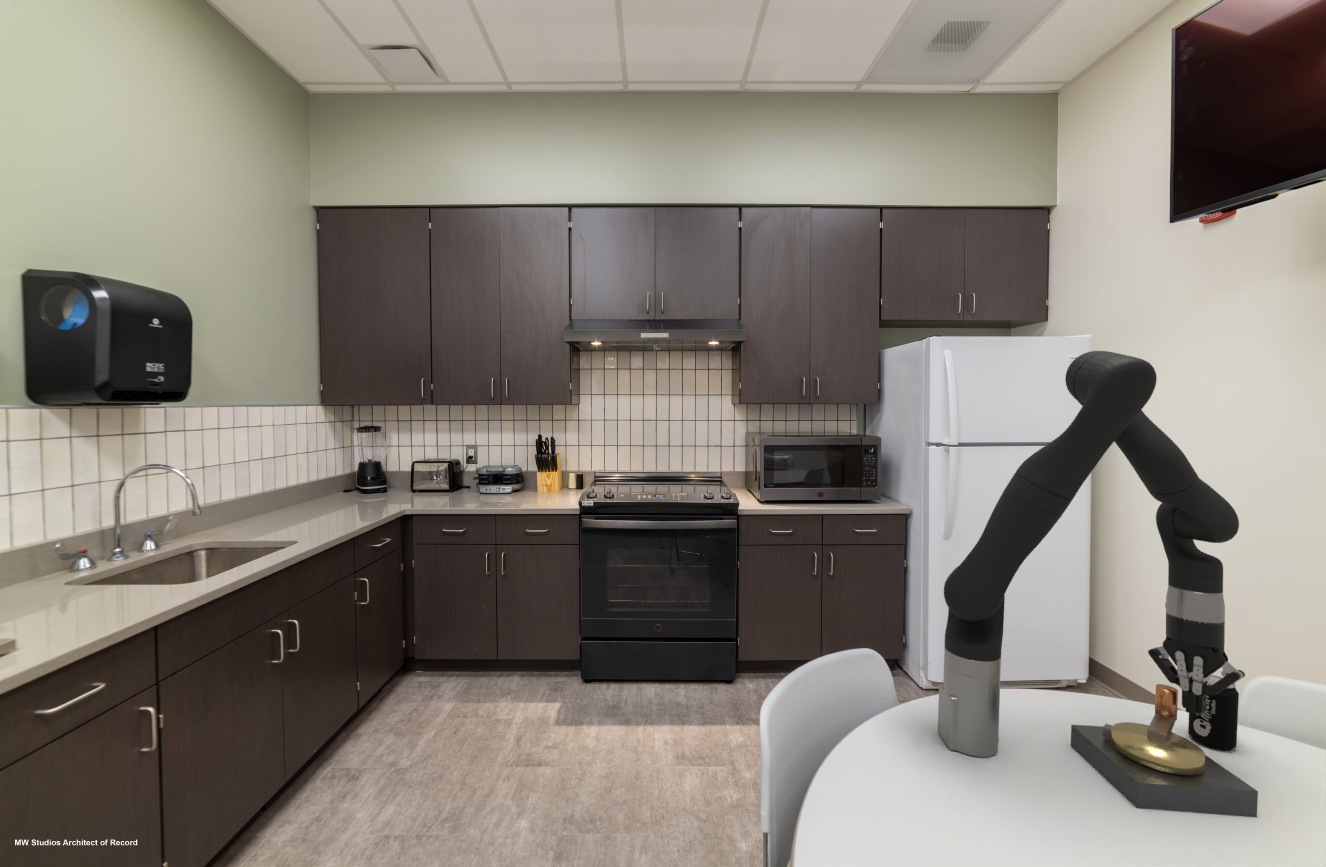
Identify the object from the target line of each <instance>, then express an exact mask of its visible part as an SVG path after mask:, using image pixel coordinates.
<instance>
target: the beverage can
mask: <svg viewBox="0 0 1326 867" xmlns="http://www.w3.org/2000/svg"><path fill="white" fill-rule="evenodd" d="M1222 678H1223V676H1218V675H1215V674H1211V676H1210V680H1209V683H1208V686H1211V685H1213V684H1214V683H1216V682H1217V681H1219V680H1220V679H1222ZM1236 687H1237V684H1236V682H1235V683H1234V684H1232V685H1231V686H1229V687H1228V688H1226V689H1224V690H1223V691H1221V692H1220V693H1218V694H1215V695H1213V696H1211V695H1206V710H1205V712H1203V713H1201V714H1200V715H1198V716H1196V715H1193V714H1191V713H1188V724H1187V726H1188V727H1187V729H1188V731H1187V732H1188V735H1189V736H1190V737H1191V738H1192V740H1193V741H1194V742H1196V743H1197V744H1199V745H1201V746H1204V747H1206V748H1208V749H1213V750H1216V751H1220V750H1221V751H1220V752H1229V751H1232V750H1233V749H1235V748H1236V747H1237V742H1238V739H1237V738H1238V724H1239V722H1238V721H1239V702H1240V701H1239V700H1240V699H1239V697H1240V696H1239V695H1240V694H1239V692H1238V690H1237V688H1236Z"/></svg>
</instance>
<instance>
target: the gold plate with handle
mask: <svg viewBox="0 0 1326 867" xmlns="http://www.w3.org/2000/svg"><path fill="white" fill-rule="evenodd" d="M1154 697H1155V700H1154V716H1153V717H1152V720H1151V722H1150V724H1146V723H1145V724H1144V723H1138V722H1126V721H1125V722H1118V723H1115V724H1113V725H1111V724H1109V723H1105V724H1104V726H1102V727H1103V737H1106V738H1109V739H1111V743H1112V745H1113V746H1114V747H1115V748H1116V749H1117V750H1118V751H1119V752H1120V753H1122V754H1123V755H1125V756H1126V757H1128V758H1130V759H1132V760H1134V761H1136V762H1138V763H1140V764H1143V765H1145V766H1148V767H1151V768H1154V769H1157V770H1160V771H1164V772H1168V773H1173V774H1180V775H1197V774H1200V773H1202V772H1203V771H1204V770H1205V755H1206V753H1205V751H1204V749H1202V748H1201V747H1200V746H1199V745H1197V744H1196V743H1194V742H1192V740H1190V739H1188V738H1186V737H1184V736H1181V735H1180V734H1177V733H1175V732H1173V731H1172V730H1173V728H1174V725H1175V723H1176V721H1177V720H1178V704H1179V703H1178V701H1179V698H1178V697H1179V690H1178V689H1177V688H1175V687H1173V686H1171V685H1167V684H1164V683H1163V684H1160V683H1157V684H1155V696H1154ZM1171 731H1172V732H1171Z"/></svg>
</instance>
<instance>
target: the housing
mask: <svg viewBox="0 0 1326 867" xmlns="http://www.w3.org/2000/svg"><path fill="white" fill-rule="evenodd" d="M1103 727H1104V726H1099V725H1086V724H1085V725H1082V724H1071V725H1070V747H1071V748H1072V749H1073V750H1074V751H1075V752H1076V753H1078V754H1079V756H1081V757H1082V758H1083V759H1084V760H1085V761H1086V762H1087V763H1088V764H1089V765H1090V766H1091V767H1093V768H1094V769H1095V770H1096V771H1097V772H1098V773H1099V774H1100V775H1101V777H1103V778H1105V779H1106V781H1108V782H1109V783H1110V784H1111V785H1112V786H1113V787H1114V788H1115V789H1116V790H1117V791H1118V792H1120V793H1121V794H1122V795H1123V796H1124V797H1125V798H1126V799H1127V800H1128V802H1130V803H1131V804H1132V805H1133V806H1134V807H1136V808H1137V809H1148V810H1157V811H1159V810H1161V811H1172V812H1173V811H1175V812H1188V813H1200V814H1213V815H1226V816H1237V817H1238V816H1239V817H1252V818H1258V802H1259V801H1258V800H1259V791H1258V790H1257V789H1255V788H1254V787H1252V786H1251V785H1249V784H1248V783H1246V781H1244V780H1242V779H1241V778H1240V777H1238V776H1236V775H1235V774H1234V773H1232V772H1231V771H1229V770H1228V769H1227V768H1225V767H1224V766H1223V765H1221V764H1219V763H1218V762H1216V761H1215V760H1214V759H1212V758H1211V757H1210V756H1208V755H1206V754H1205V770H1204V771H1203V772H1202V773H1200V774H1197V775H1180V774H1173V773H1168V772H1164V771H1160V770H1157V769H1154V768H1151V767H1148V766H1145V765H1143V764H1140V763H1138V762H1136V761H1134V760H1132V759H1130V758H1128V757H1126V756H1125V755H1123V754H1122V753H1120V752H1119V751H1118V750H1117V749H1116V748H1115V747H1114V746H1113V745H1112V743H1111V739H1109V738H1106V737H1103ZM1171 732H1173V731H1171Z"/></svg>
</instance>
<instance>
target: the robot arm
mask: <svg viewBox="0 0 1326 867" xmlns="http://www.w3.org/2000/svg"><path fill="white" fill-rule="evenodd" d="M1157 378H1158V377H1157V372H1156V370H1155V367H1154V366H1153V365H1152V364H1151V363H1150V362H1149V361H1147V360H1145V359H1142V358H1139V357H1136V356H1131V355H1127V354H1123V353H1116V352H1114V351H1113V352H1112V351H1108V350H1107V351H1106V350H1092V351H1088V352H1085V353H1082V354H1080V355H1079V356H1077V357H1076V358H1075V359H1073V360H1072V361H1071V363H1070V364H1069V365H1068V367H1067V369H1066V373H1065V385H1066V389H1067V391H1068V393H1069V394H1070V395H1071V396H1072V397H1073V399H1075V400H1076V401H1077V402H1078V403H1079V404H1080V405H1081V408H1080V410H1079V411H1078V413H1077V414H1076V416H1075V417H1074V418H1073V421H1072V422H1071V423H1070V425H1068V427H1067V428H1066V429H1065V430H1064V431H1063V432H1062V433H1061V434H1060V435H1059V436H1057V437H1056V438H1055V439H1053V440H1051V442H1049V443H1047V444H1045V445H1044V446H1043V447H1041V448H1039V450H1037V451H1036V452H1034V453H1033V454H1031V455H1030V456H1028V457H1027V458H1026V459H1025V460H1024V461H1023V462H1022V463H1021V464H1020V465H1019V466H1018V467H1017V469H1016V471H1015V472H1014V474H1013V475H1012V477H1011V479H1010V480H1009V481H1008V483H1007V485H1006V486H1005V488H1004V490H1003V491H1002V492H1001V495H1000V497H999V499H998V500H997V502H996V504H995V506H994V508H993V511H992V512H991V514H990V516H989V519H988V520H987V522H986V525H985V527H984V529H983V532H982V533H981V535H980V538H979V539H978V541H977V542H976V543H975V545H974V547H973V548H972V549H971V551H970V552H969V553H968V554H967V555H966V557H965V558H964V559H963V561H962V562H961V563H960V564H959V565H958V566H956V567H955V568H954V569H953V570H952V572H951V573H950V574H949V575H948V576H947V577H946V580H945V581H944V585H943V597H944V601H945V603H946V605H947V607H948V611H947V612H948V614H947V620H946V621H947V622H946V627H945V633H944V649H943V650H944V651H943V652H944V653H943V654H944V655H943V658H944V659H943V683H939V684H938V706H937V707H938V709H937V710H938V713H937V733H938V735H939V736H940V737H941V739H942V740H943V742H944V743H945V745H946V747H947V748H948V749H949V751H956V752H959V753H962V754H965V755H969V756H972V757H980V758H982V757H983V758H985V757H986V758H989V757H993V756H995V755H997V753H998V752H999V741H1000V740H999V739H1000V737H999V735H1000V734H999V733H1000V732H999V730H1000V729H999V728H1000V701H1001V700H1000V698H1001V696H1000V695H1001V669H1002V665H1001V664H1002V647H1003V636H1004V625H1005V624H1004V623H1005V622H1004V620H1005V603H1006V602H1005V599H1006V598H1005V597H1006V596H1005V594H1006V592H1007V590H1008V588H1009V586H1010V584H1011V583H1012V581H1013V579H1014V577H1015V575H1016V573H1017V572H1018V570H1019V569H1020V567H1021V565H1022V564H1023V562H1024V561H1025V560H1026V559H1027V558H1028V557H1029V556H1030V554H1031V553H1032V552H1033V551H1034V550H1035V549H1036V548H1037V547H1038V546H1039V544H1041V543H1042V541H1043V540H1044V539H1045V538H1046V536H1047V535H1048V534H1050V533H1049V532H1051V530H1052V529H1053V527H1054V526H1055V525H1056V524H1057V522H1059V520H1060V519H1061V517H1062V516H1063V514H1064V513H1065V512H1066V510H1067V508H1068V507H1069V506H1070V505H1071V503H1072V501H1073V500H1074V499H1075V497H1076V495H1077V493H1078V492H1079V490H1080V488H1081V487H1082V485H1083V484H1084V482H1085V481H1086V480H1087V478H1088V477H1089V476H1090V475H1091V473H1092V472H1093V470H1094V469H1095V468H1096V466H1097V465H1098V464H1099V462H1100V461H1101V459H1102V458H1103V456H1104V455H1105V453H1106V452H1107V451H1108V450H1109V448H1110V447H1111V446H1112V444H1116V445H1117V447H1118V448H1119V450H1120V451H1121V452H1122V454H1123V455H1124V457H1126V459H1127V461H1128V462H1129V463H1130V465H1131V467H1132V468H1133V470H1134V471H1135V473H1136V474H1137V476H1138V478H1139V479H1140V481H1141V482H1142V484H1143V485H1144V486H1145V488H1146V489H1147V492H1148V493H1149V494H1150V495H1151V497H1152V498H1154V500H1156V501H1158V502H1160V505H1159V506H1158V508H1157V510H1156V513H1155V522H1156V527H1157V530H1158V534H1159V537H1160V539H1161V543H1162V546H1163V549H1164V552H1165V555H1166V558H1167V561H1168V564H1167V565H1168V568H1167V570H1168V571H1167V572H1168V574H1167V575H1168V576H1167V577H1168V580H1167V582H1168V583H1167V584H1168V585H1167V591H1166V597H1165V605H1164V606H1165V639H1164V640H1163V642H1162V645H1161V646H1159V647H1158V646H1157V647H1153V648H1150V649H1148V650H1147V653H1148V655H1149V657H1150V658H1151V659H1152V660H1153V662H1154V663H1155V665H1156V666H1157V667H1158V668H1159V670H1160V671H1161V673H1162V674H1163V675H1164V677H1165V678H1166V680H1167V681H1168V682H1169V683H1171V684H1175V685H1176V686H1178V687H1179V688H1180V689H1181V705H1182V708H1183V709H1185V712H1186V713H1188V714H1189V713H1191V714H1193V715H1196V716H1198V715H1200V714H1201V713H1203V712H1205V710H1206V695H1211V696H1213V695H1215V694H1218V693H1220V692H1221V691H1223V690H1224V689H1226V688H1228V687H1229V686H1231V685H1232V684H1234V683H1235V684H1236V683H1237V682H1239V681H1240V680H1241V679H1244V678H1245V676H1246V674H1245V672H1244V671H1243V670H1241V669H1237V668H1235V667H1234V666H1233V665H1232V664H1230V662H1229V658H1228V655H1227V654H1226V652H1225V635H1226V634H1225V633H1226V632H1225V631H1226V630H1225V628H1226V621H1225V620H1226V604H1225V599H1224V565H1223V562H1222V560H1221V559H1219V558H1218V557H1216V556H1213V555H1211V554H1208V553H1206V552H1204V551H1202V550H1200V549H1199V548H1198V547H1197V545H1196V543H1195V541H1201V542H1206V543H1210V544H1211V543H1213V544H1214V543H1215V544H1222V543H1226V542H1228V541H1231V540H1232V539H1233V538H1235V536H1237V534H1238V531H1239V527H1240V520H1239V517H1238V514H1237V513H1236V512H1237V511H1236V510H1235V509H1234V507H1233V506H1232V504H1230V503H1229V501H1228V500H1226V498H1225V497H1224V496H1222V495H1221V494H1219V493H1218V491H1216V490H1215V489H1214V488H1213V487H1212V486H1210V485H1209V484H1208V483H1206V482H1205V480H1203V479H1201V478H1200V477H1199V475H1198V474H1197V472H1196V471H1195V469H1194V467H1193V466H1192V464H1191V462H1190V461H1189V459H1188V458H1187V456H1186V455H1185V453H1184V452H1183V451H1182V449H1181V448H1180V447H1179V446H1178V445H1177V444H1176V443H1175V442H1174V441H1173V440H1172V439H1171V438H1170V437H1169V435H1168V434H1166V433H1165V432H1164V431H1163V430H1162V429H1161V428H1160V427H1158V426H1157V425H1156V423H1155V422H1153V420H1152V419H1150V418H1149V416H1147V415H1146V414H1145V412H1144V411H1143V408H1144V407H1145V405H1147V403H1148V402H1149V400H1150V399H1151V397H1152V395H1153V394H1154V391H1155V388H1156V385H1157ZM1194 540H1195V541H1194ZM1169 658H1170V659H1171V660H1172V661H1173V662H1172V661H1171V660H1170V659H1169ZM1173 663H1174V664H1173ZM1176 667H1177V668H1176ZM1220 668H1222V670H1221V672H1220V674H1221V677H1222V679H1220V680H1219V681H1217V682H1216V683H1214V684H1213V685H1211V686H1208V683H1209V680H1210V676H1211V675H1214V673H1216V672H1217V671H1218V670H1220Z"/></svg>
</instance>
